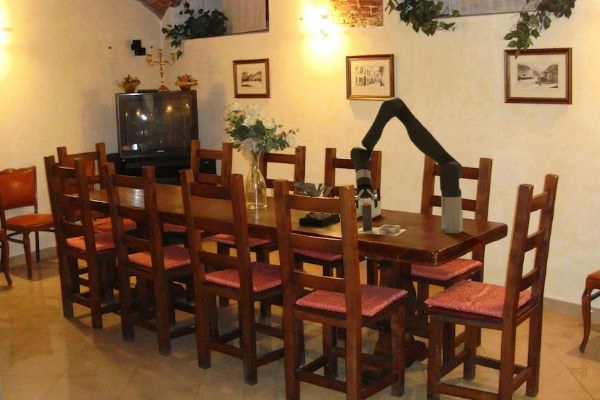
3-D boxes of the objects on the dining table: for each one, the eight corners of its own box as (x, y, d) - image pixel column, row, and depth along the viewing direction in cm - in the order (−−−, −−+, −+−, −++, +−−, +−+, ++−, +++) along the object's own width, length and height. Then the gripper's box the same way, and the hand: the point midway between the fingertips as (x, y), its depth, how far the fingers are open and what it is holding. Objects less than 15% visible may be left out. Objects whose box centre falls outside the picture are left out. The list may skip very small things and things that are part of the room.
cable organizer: (364, 213, 408) (363, 192, 406) (382, 214, 403) (381, 193, 401) (353, 218, 395) (352, 197, 393) (371, 220, 390) (371, 198, 388)
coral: (318, 229, 371) (317, 186, 367) (284, 226, 382) (283, 184, 378) (343, 220, 391) (342, 179, 388) (311, 217, 402) (309, 178, 399)
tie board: (406, 232, 357) (406, 224, 356) (396, 238, 345) (396, 230, 344) (363, 229, 367) (363, 222, 366) (352, 235, 354) (352, 227, 354)
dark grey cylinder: (373, 228, 359) (372, 202, 357) (370, 230, 355) (369, 203, 353) (364, 228, 361) (363, 201, 359) (361, 230, 357) (360, 203, 355)
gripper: (349, 176, 365) (352, 203, 355) (378, 175, 365) (382, 202, 355) (348, 185, 371) (351, 212, 361) (377, 184, 371) (381, 211, 362)
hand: (366, 207), depth 358 cm, fingers open, 8 cm apart
